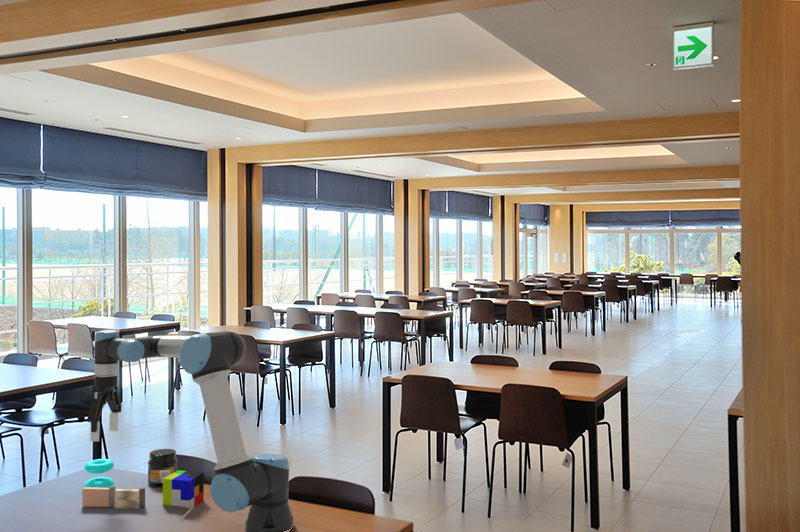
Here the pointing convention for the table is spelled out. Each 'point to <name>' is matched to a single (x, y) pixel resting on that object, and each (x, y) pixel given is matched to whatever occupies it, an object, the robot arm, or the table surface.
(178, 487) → the puzzle toy
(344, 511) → the table surface
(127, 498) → the rail
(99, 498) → the salmon gate panel
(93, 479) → the donuts
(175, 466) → the supplement container
